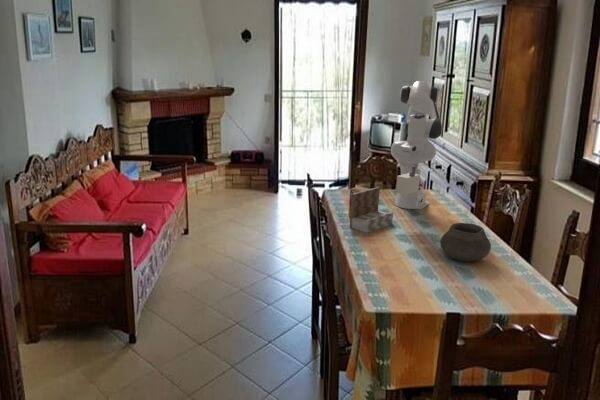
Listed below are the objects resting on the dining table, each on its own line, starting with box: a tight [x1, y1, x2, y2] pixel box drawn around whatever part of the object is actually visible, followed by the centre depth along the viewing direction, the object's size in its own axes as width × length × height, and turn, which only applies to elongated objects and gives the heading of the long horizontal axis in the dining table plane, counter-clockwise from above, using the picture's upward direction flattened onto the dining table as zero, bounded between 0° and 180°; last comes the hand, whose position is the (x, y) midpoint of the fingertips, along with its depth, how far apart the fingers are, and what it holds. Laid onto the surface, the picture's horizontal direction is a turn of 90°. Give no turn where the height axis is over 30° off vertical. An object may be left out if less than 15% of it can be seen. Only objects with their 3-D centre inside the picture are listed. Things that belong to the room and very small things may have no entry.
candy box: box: [348, 187, 364, 216], centre depth 286 cm, size 9×4×15 cm, turn 39°
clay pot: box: [439, 222, 492, 263], centre depth 233 cm, size 22×21×15 cm
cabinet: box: [395, 166, 421, 195], centre depth 271 cm, size 12×6×14 cm, turn 135°
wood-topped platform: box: [349, 186, 394, 234], centre depth 271 cm, size 22×12×18 cm, turn 135°
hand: (412, 172), depth 268 cm, fingers closed on cabinet
